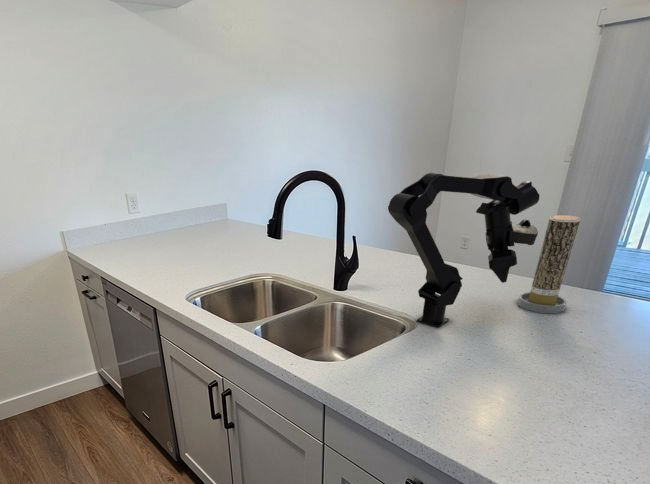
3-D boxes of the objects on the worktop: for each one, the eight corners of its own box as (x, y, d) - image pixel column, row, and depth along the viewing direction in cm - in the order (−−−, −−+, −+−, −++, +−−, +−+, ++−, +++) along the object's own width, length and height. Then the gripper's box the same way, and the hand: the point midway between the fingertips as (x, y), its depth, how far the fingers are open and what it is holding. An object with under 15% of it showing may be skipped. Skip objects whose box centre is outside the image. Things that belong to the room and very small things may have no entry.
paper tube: (558, 304, 126) (584, 217, 115) (549, 311, 123) (575, 221, 111) (533, 299, 131) (555, 214, 120) (523, 305, 128) (545, 218, 116)
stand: (557, 316, 120) (559, 309, 119) (511, 306, 128) (513, 299, 127) (569, 304, 127) (571, 297, 126) (525, 296, 135) (527, 289, 134)
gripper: (539, 230, 103) (541, 286, 111) (529, 200, 117) (532, 252, 124) (486, 241, 109) (492, 293, 117) (482, 211, 122) (488, 260, 130)
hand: (502, 273), depth 122 cm, fingers open, 9 cm apart
